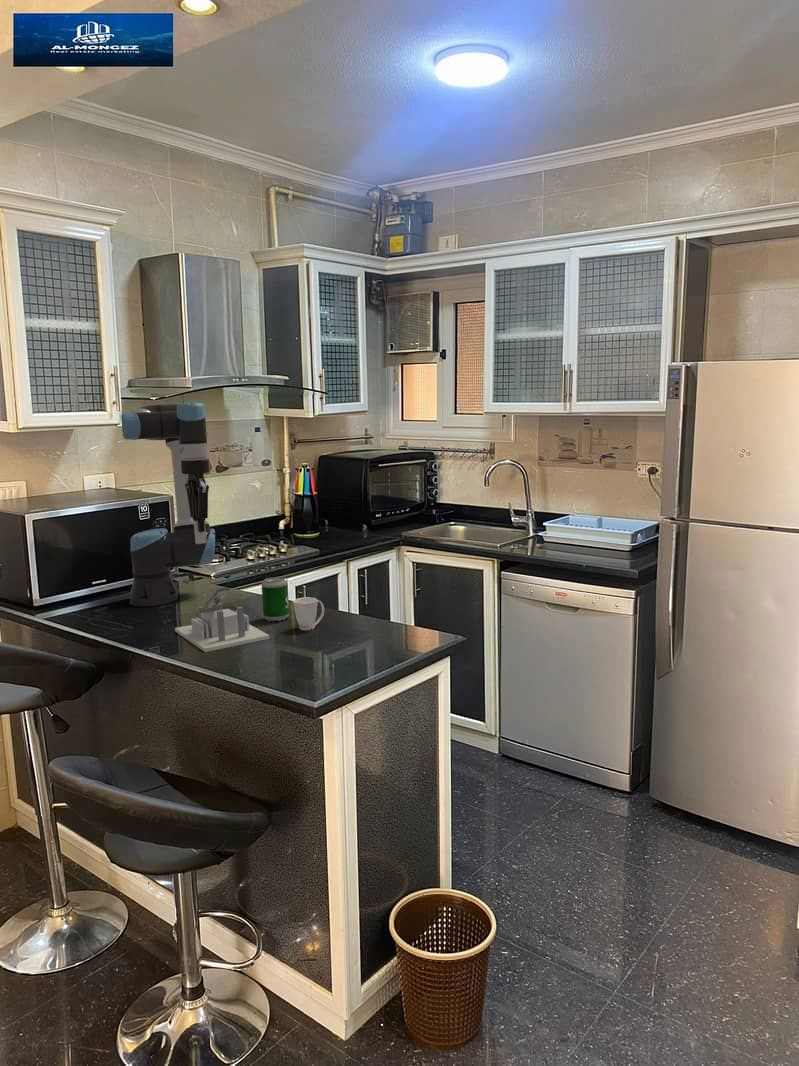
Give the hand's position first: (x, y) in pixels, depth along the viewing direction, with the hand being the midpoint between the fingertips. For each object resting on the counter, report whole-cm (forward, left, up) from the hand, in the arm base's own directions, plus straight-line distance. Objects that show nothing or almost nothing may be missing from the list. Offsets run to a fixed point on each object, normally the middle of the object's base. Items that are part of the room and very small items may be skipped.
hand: (201, 543), depth 221 cm
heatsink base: (+11, 0, -24) cm, 27 cm away
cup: (+20, +23, -25) cm, 39 cm away
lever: (+9, 0, -15) cm, 17 cm away
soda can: (+6, +19, -25) cm, 32 cm away
